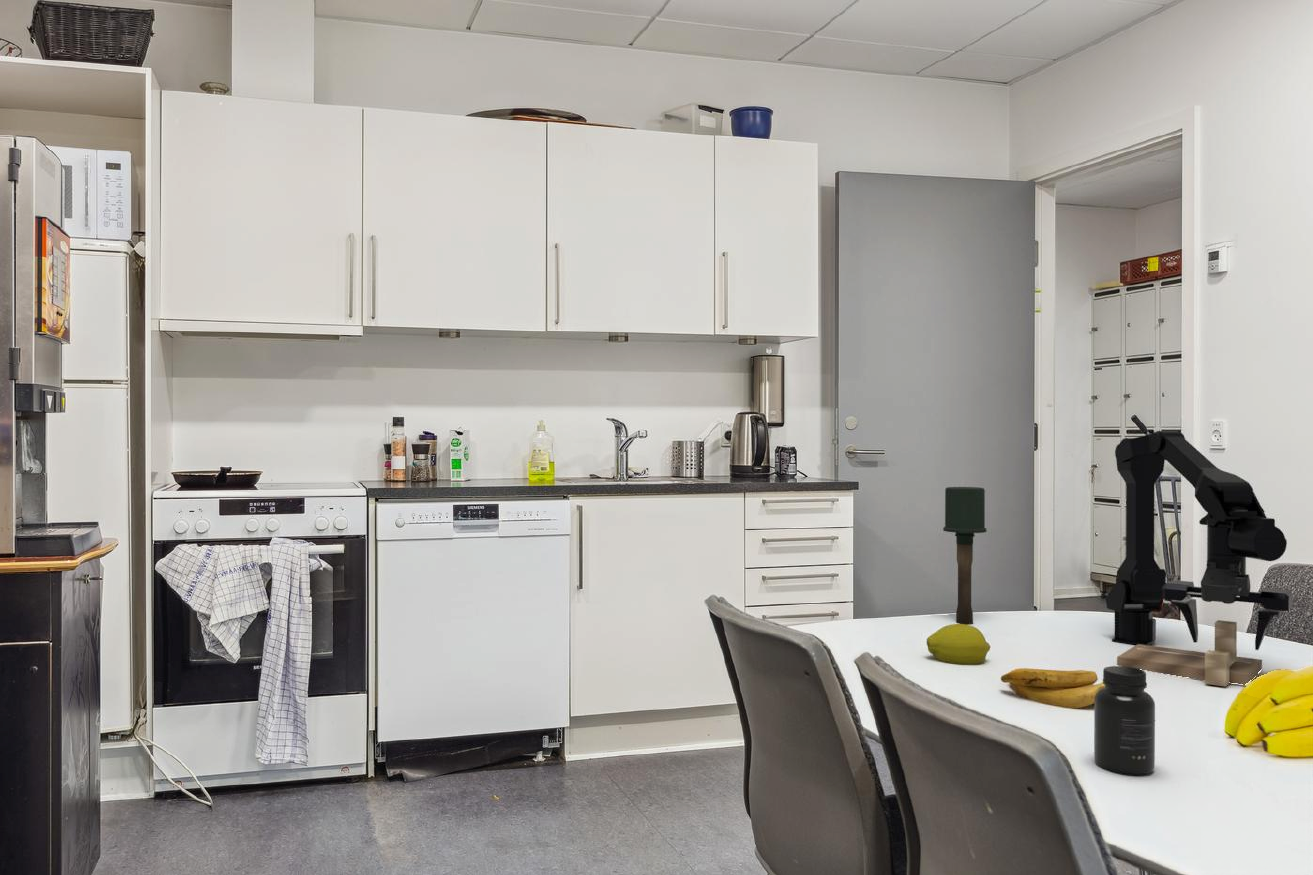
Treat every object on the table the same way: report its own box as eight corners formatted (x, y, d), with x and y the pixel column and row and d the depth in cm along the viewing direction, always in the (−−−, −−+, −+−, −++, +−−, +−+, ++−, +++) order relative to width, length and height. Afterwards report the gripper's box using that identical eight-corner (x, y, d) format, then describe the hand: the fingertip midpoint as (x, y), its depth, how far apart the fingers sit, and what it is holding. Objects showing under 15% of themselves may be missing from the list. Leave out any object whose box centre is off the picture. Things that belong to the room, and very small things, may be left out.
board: (1117, 668, 176) (1117, 656, 176) (1137, 654, 187) (1138, 643, 187) (1247, 686, 163) (1247, 673, 163) (1262, 671, 174) (1262, 659, 174)
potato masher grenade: (986, 630, 210) (986, 487, 210) (985, 638, 202) (986, 489, 201) (944, 627, 212) (944, 486, 212) (941, 635, 204) (942, 488, 204)
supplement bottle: (1083, 758, 127) (1083, 664, 127) (1135, 757, 128) (1135, 663, 128) (1112, 777, 120) (1113, 677, 120) (1166, 775, 121) (1167, 676, 121)
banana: (1146, 715, 148) (1146, 676, 148) (1016, 714, 148) (1016, 675, 148) (1102, 688, 163) (1102, 653, 163) (984, 688, 163) (984, 653, 163)
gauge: (1205, 683, 164) (1205, 628, 164) (1221, 668, 175) (1221, 617, 174) (1225, 686, 162) (1225, 631, 162) (1240, 671, 173) (1241, 619, 173)
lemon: (987, 666, 178) (987, 621, 178) (994, 676, 170) (994, 629, 170) (924, 663, 179) (924, 619, 179) (928, 673, 172) (928, 627, 172)
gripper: (1154, 553, 169) (1153, 646, 169) (1283, 563, 158) (1283, 662, 158) (1170, 548, 178) (1169, 635, 178) (1293, 556, 166) (1293, 650, 166)
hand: (1225, 645), depth 170 cm, fingers open, 9 cm apart
